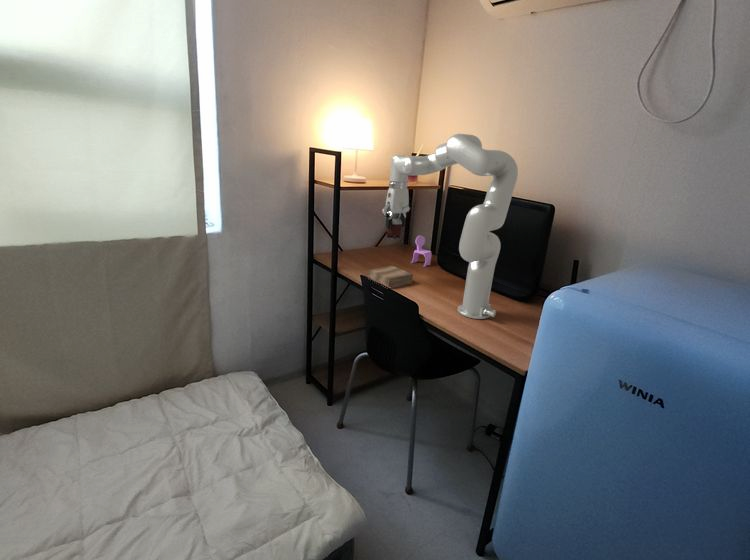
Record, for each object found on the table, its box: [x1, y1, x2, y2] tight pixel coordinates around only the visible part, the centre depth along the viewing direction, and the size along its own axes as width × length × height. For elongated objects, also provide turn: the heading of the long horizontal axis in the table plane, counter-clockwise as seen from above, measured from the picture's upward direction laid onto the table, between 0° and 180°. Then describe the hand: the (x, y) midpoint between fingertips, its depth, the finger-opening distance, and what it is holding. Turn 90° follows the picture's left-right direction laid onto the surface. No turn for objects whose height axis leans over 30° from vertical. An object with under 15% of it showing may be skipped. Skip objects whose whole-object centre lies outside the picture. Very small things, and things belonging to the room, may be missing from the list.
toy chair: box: [410, 234, 432, 268], centre depth 215 cm, size 8×9×15 cm
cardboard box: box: [368, 265, 413, 289], centre depth 186 cm, size 14×14×5 cm
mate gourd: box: [385, 205, 408, 240], centre depth 178 cm, size 8×8×15 cm
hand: (394, 226), depth 179 cm, fingers closed on mate gourd, 7 cm apart
